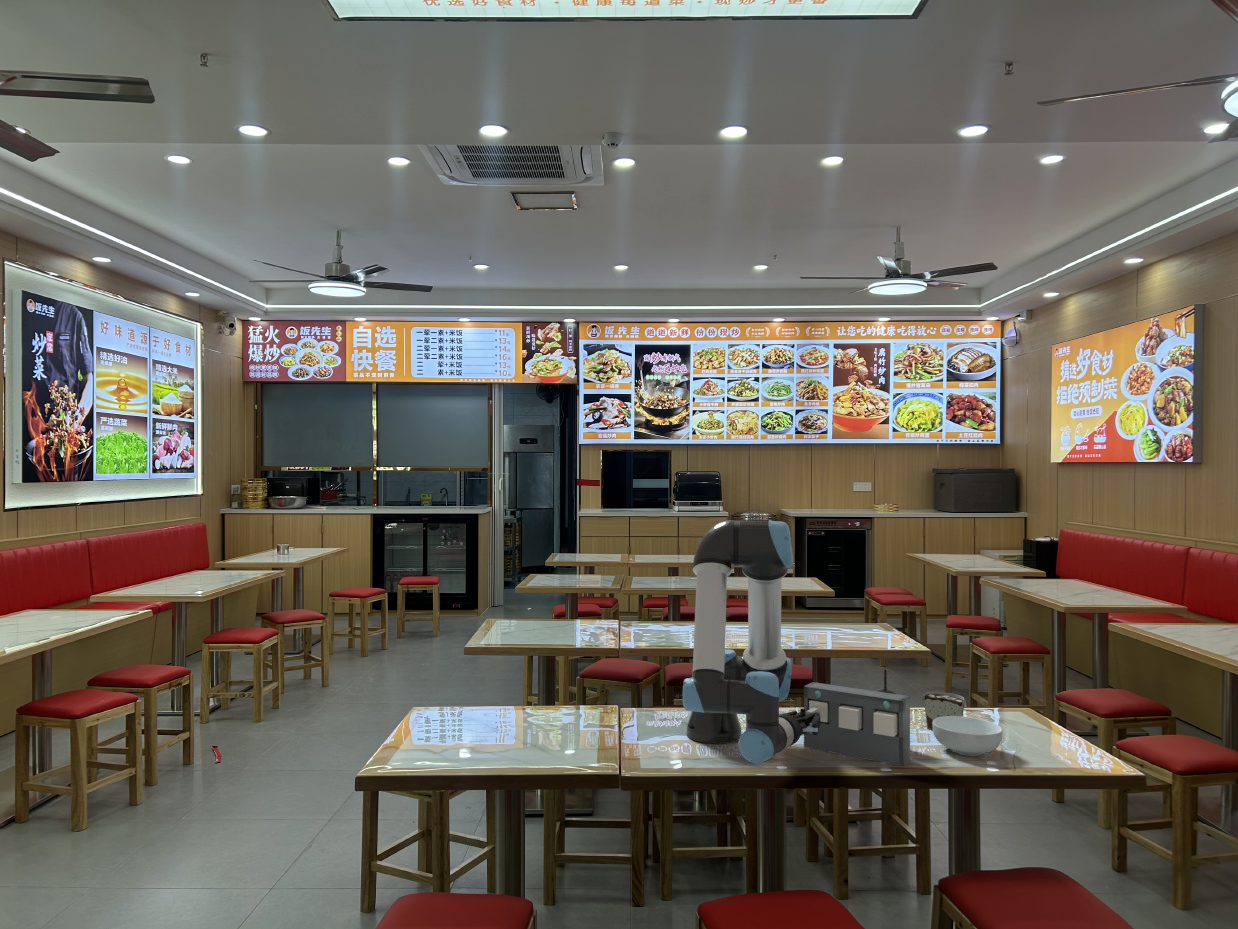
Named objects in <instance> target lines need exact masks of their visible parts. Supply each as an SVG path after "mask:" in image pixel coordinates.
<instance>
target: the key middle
mask: <svg viewBox="0 0 1238 929" xmlns="http://www.w3.org/2000/svg"><path fill="white" fill-rule="evenodd" d="M839 727H840V728H846V729H852V730H857V731H858V730H860V729H861V728H863V707H857V706H851V705H845V704H844V705H842V706H841V707H839Z"/></svg>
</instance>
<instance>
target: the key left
mask: <svg viewBox="0 0 1238 929" xmlns="http://www.w3.org/2000/svg"><path fill="white" fill-rule="evenodd" d="M815 706H817V707H821V718H820V721H821V722H829V701H822V700H816V699H811V700H809V709H811V708H813V707H815Z"/></svg>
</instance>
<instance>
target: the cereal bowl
mask: <svg viewBox="0 0 1238 929" xmlns="http://www.w3.org/2000/svg"><path fill="white" fill-rule="evenodd" d="M932 724H933V725H932V727H933V730H932V733H933V735H934V737H935V739H936V740H937V741H938V743H939V744H941V746H943V747H946V748H947V749H950V751H951V752H953V753H955V754H958V755H961V756H969V757H978V756H982V755H983V754H987V753H990V752H993V751H995V750H996V749H998V748H999V746H1000V745H1001V743H1002V739H1003V728H1002V726H1000V725H998V724H997V723H995V722H992V721H989V720H985V719H981V718H976V717H971V716H964V715H963V716H945V717H939V718H936V719H934V720H933V723H932Z"/></svg>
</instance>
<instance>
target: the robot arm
mask: <svg viewBox="0 0 1238 929" xmlns="http://www.w3.org/2000/svg"><path fill="white" fill-rule="evenodd" d="M793 554H794V553H793V546H792V538H791V531H790V527H789V524H788V523H787V522H784V521H778V520H776V521H774V520H771V519H770V520H732V519H729V520H724V521H721V522H719V523H717V524H715V525H714V526H712V527H711V528H710V529H709V530H708V531H707V532H706V533H705V534H704V535H703V537H702V538H701V540H700V541H699V543H698V545H697V547H696V550H695V553H694V556H693V563H692V565H693V566H692V573H693V574H694V575H695V576H696V585H695V606H694V608H695V611H694V634H693V636H694V637H693V652H692V653H693V654H692V655H693V656H692V674H691V675H692V676H691V677H689V678H688V677H687V678H684V679H683V683H682V684H683V686H682V705H683V709H685V710H686V711H689V712H691V713H690V716H689V719H688V722H687V724H686V736H687V738H689V739H690V740H693V741H695V742H699V743H700V742H701V743H705V744H706V743H708V744H728V743H734V742H737V741H738V749H739V752H740V754H741V756H742V757H743V758H744V759H745V760H747V761H748V762H750V763H752V764H760V763H764V762H766V761H769V760H770V759H771V758H773V757H775V755H777V754H778V753H781V752H782V751H783V750H786V749H787V748H789V747H791V746H792V745H795V744H796V743H798V742H799V740H800V738H801V736H802V735H803V736H804V734H806V733H807V732H810V733H812V734H813V735H818V728H819V727H820V718H821V707H817V706H815V707H813V708H811V709H809V710H807V711H805V709H804V708H800V711H799V712H798V711H797V710H793V711H788V712H785V713H780V701H781V702H782V701H784V700H786V699H788V696H789V692H790V688H791V681H792V680H791V678H792V670H793V669H792V668H793V667H792V664H793V663H792V659H791V658H789V657H787V655H786V654H787V653H786V652H785V651H784V649H783V648H781V647H782V641H781V640H782V635H781V634H782V579H783V578H785V576H786V575H787V574H788V570H789V569H790V568H793V567H794V556H793ZM732 567H741V571H742V573H743V575H744V576H745V577H746V578H747V604H748V605H747V607H748V608H747V615H748V616H747V617H748V618H747V621H748V622H747V624H748V632H747V633H748V646H747V647H746V648H745V649H744V651H743V653H742V655H737V653H736V651H735V650H734V649H729V648H728V649H727V648H726V626H727V625H726V624H727V591H728V590H727V583H728V577H729V576H730V575H731V574H732ZM738 715H745V730H744V731H743V733H742V726H741V723H740V720H739V717H738Z"/></svg>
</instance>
